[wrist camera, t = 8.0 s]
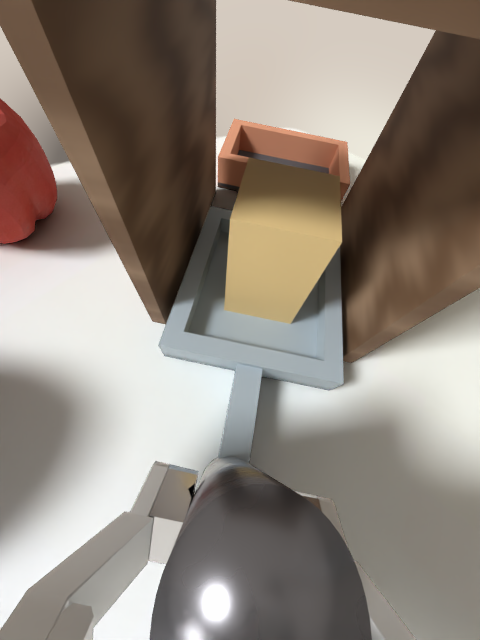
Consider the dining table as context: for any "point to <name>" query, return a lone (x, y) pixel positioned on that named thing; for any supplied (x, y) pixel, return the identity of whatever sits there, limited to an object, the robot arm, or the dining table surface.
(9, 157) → the vegetable
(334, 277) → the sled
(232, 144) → the box
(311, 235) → the ochre block
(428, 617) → the dining table surface
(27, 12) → the tunnel
